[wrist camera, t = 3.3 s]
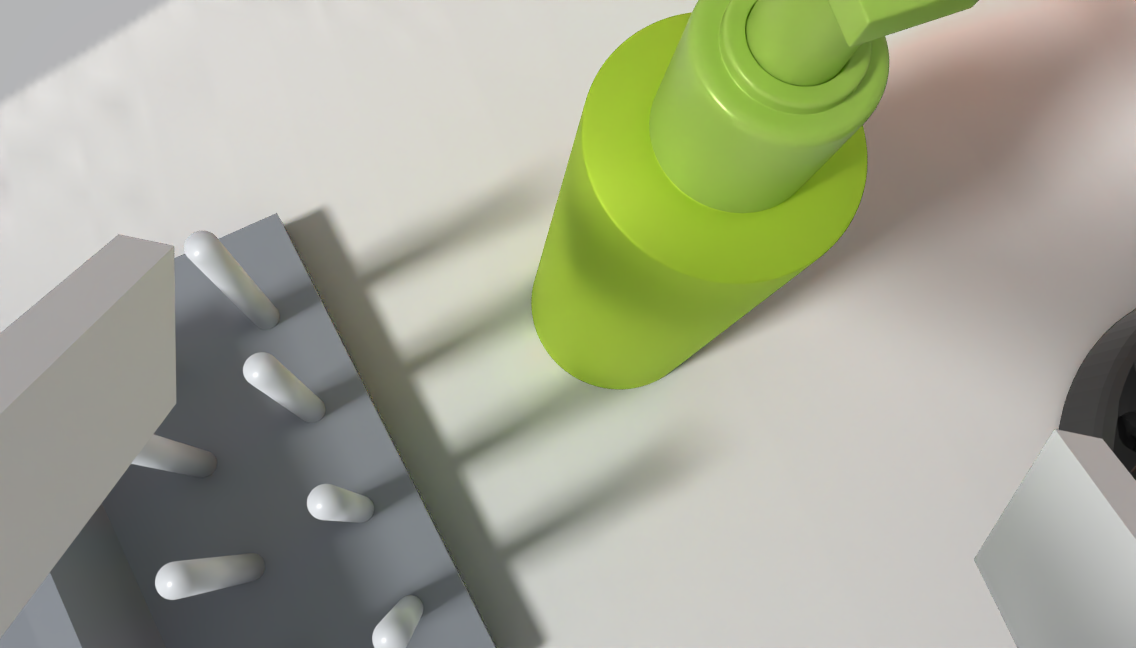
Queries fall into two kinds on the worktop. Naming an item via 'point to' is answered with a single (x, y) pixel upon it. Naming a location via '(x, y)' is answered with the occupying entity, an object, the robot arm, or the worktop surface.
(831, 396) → the worktop surface
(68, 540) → the robot arm
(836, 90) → the soap dispenser
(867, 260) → the worktop surface
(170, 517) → the dish rack
